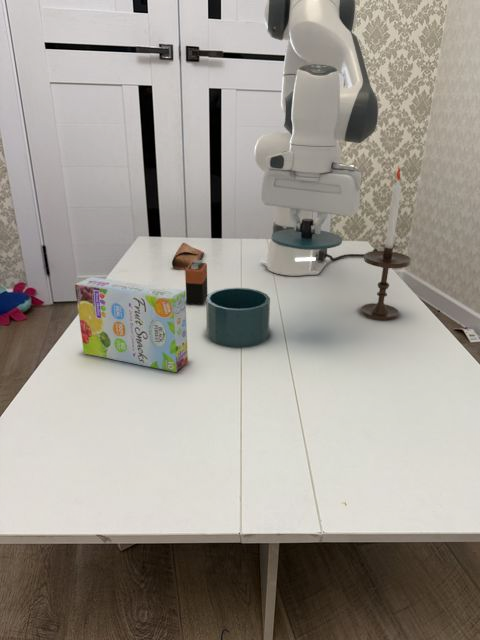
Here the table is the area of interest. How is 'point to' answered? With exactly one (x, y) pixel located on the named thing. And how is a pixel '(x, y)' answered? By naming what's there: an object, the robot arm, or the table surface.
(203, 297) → the battery
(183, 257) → the sunglasses case
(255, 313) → the pot
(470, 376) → the table surface
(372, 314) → the candlestick
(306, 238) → the lid
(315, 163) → the robot arm
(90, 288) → the snack box
